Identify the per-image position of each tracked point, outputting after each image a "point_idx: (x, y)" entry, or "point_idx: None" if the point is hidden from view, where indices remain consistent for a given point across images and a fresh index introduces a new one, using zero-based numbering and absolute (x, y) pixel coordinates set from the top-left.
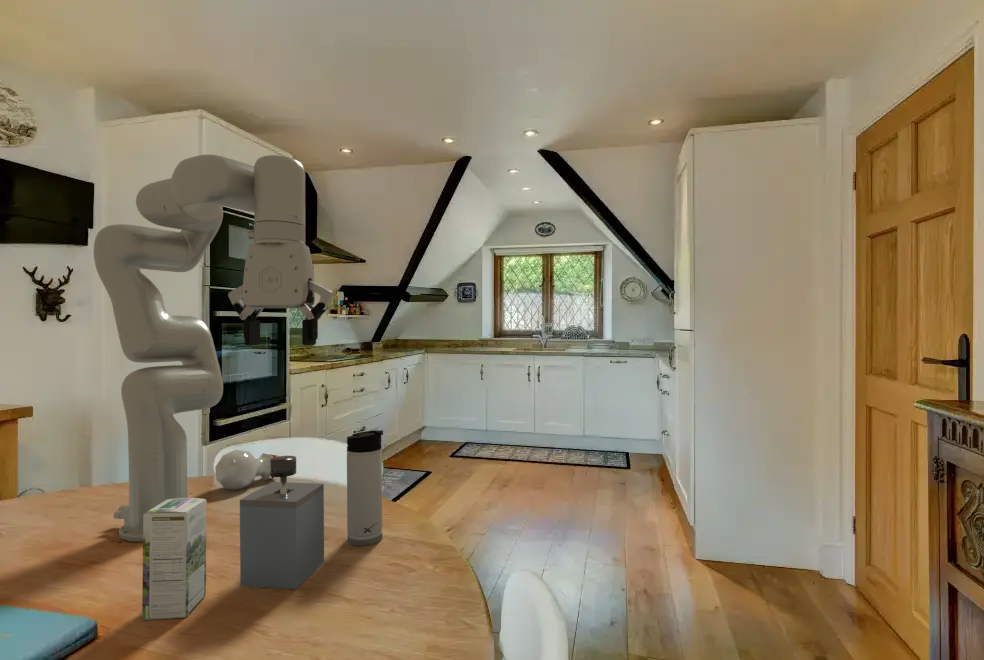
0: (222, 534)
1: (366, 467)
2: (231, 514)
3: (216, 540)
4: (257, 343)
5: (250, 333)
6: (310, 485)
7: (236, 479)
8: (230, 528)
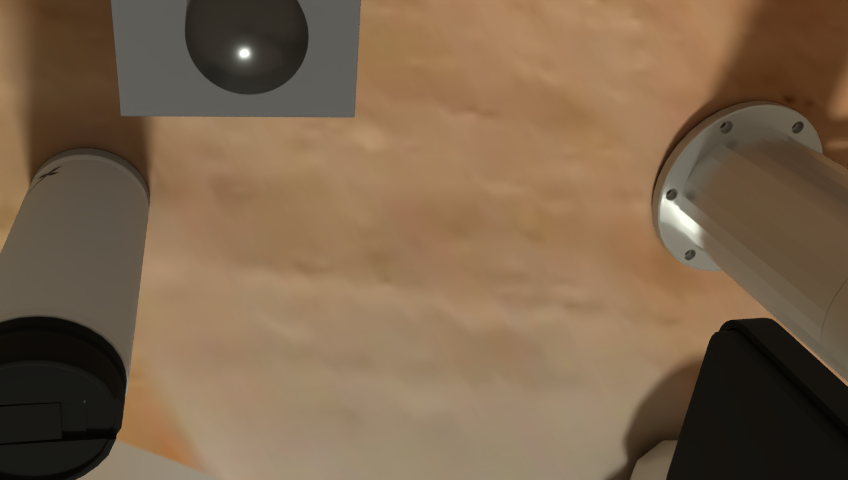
0: (549, 176)
1: (4, 287)
2: (590, 301)
3: (546, 138)
4: (678, 456)
5: (791, 431)
6: (166, 87)
7: (664, 455)
8: (547, 216)
